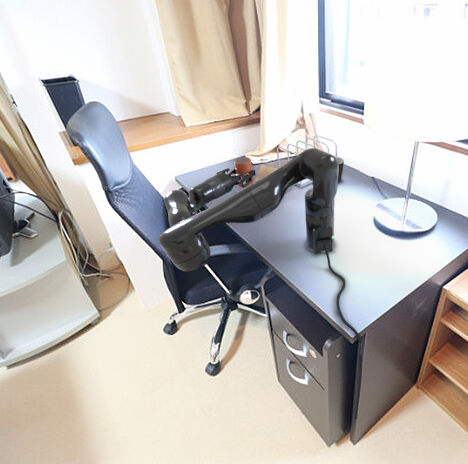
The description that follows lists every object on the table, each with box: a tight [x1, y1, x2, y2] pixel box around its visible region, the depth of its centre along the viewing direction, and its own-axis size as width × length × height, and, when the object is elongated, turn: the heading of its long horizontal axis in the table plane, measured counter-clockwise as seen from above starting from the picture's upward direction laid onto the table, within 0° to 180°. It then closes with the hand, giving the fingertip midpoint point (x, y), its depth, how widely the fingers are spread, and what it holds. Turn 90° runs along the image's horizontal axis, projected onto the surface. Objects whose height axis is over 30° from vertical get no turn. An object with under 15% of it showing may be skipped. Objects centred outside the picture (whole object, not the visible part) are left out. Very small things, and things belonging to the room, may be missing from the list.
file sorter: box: [276, 134, 338, 188], centre depth 151 cm, size 25×17×16 cm
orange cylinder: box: [233, 156, 255, 189], centre depth 125 cm, size 12×6×12 cm
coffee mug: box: [335, 156, 345, 184], centre depth 147 cm, size 12×9×10 cm
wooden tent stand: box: [254, 164, 278, 182], centre depth 139 cm, size 10×12×9 cm
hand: (247, 170), depth 127 cm, fingers closed on orange cylinder, 6 cm apart
